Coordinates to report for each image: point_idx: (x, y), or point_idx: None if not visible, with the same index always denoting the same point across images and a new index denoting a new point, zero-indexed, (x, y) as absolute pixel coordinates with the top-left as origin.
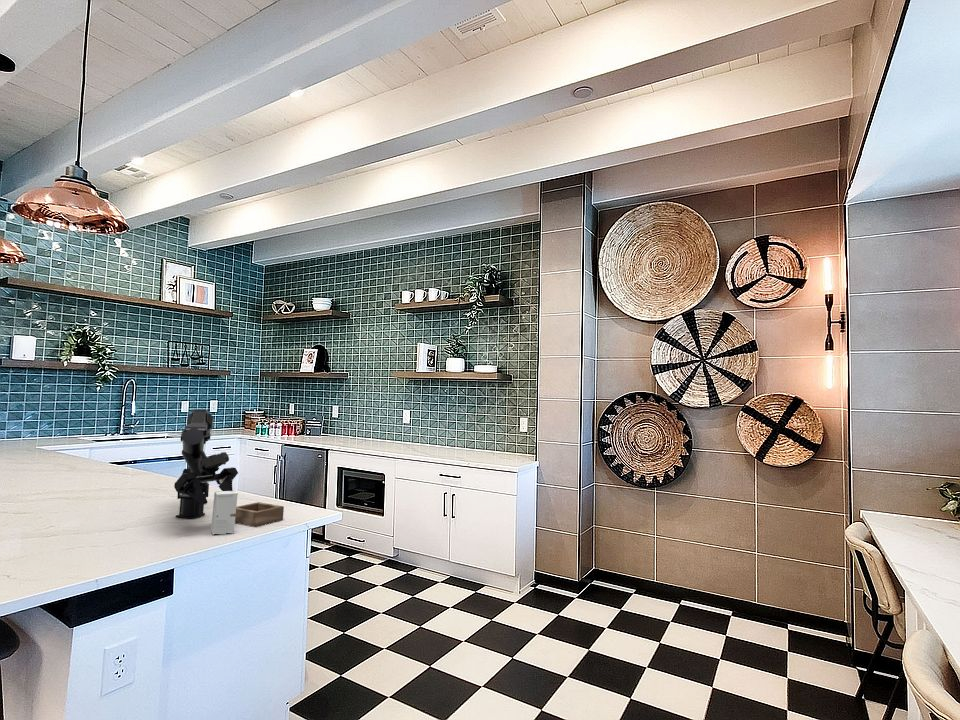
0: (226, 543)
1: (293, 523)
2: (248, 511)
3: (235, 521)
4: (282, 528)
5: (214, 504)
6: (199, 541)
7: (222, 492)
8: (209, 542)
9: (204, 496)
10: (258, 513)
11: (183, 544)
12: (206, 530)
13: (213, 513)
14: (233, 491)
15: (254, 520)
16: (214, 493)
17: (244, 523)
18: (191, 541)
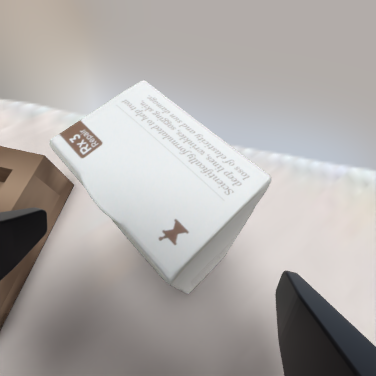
0: (280, 157)
1: (7, 114)
2: (15, 204)
3: (12, 296)
4: (74, 113)
5: (222, 246)
6: (309, 245)
7: (188, 169)
8: (299, 207)
9: (319, 307)
10: (39, 156)
11: (369, 272)
12: (166, 337)
13: (218, 257)
14: (95, 127)
15: (57, 183)
16: (177, 280)
17: (41, 239)
18: (325, 273)
